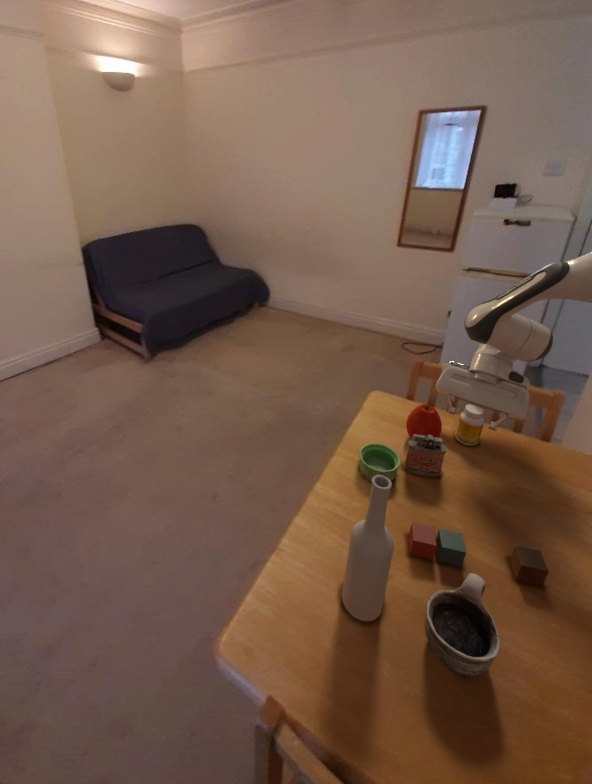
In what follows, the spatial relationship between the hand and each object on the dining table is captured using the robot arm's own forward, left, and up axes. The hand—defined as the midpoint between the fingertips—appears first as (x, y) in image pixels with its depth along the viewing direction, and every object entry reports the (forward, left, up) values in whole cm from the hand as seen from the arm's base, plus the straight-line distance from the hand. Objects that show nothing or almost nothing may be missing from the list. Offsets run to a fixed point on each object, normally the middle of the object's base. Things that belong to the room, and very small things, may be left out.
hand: (470, 421), depth 101 cm
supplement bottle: (0, 0, -6) cm, 6 cm away
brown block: (-3, +35, -6) cm, 35 cm away
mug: (+11, +50, -6) cm, 51 cm away
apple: (+11, +3, -6) cm, 13 cm away
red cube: (+14, +35, -6) cm, 38 cm away
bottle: (+25, +48, -6) cm, 54 cm away
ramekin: (+22, +17, -6) cm, 28 cm away
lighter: (+12, +14, -6) cm, 19 cm away
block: (+9, +35, -6) cm, 37 cm away
